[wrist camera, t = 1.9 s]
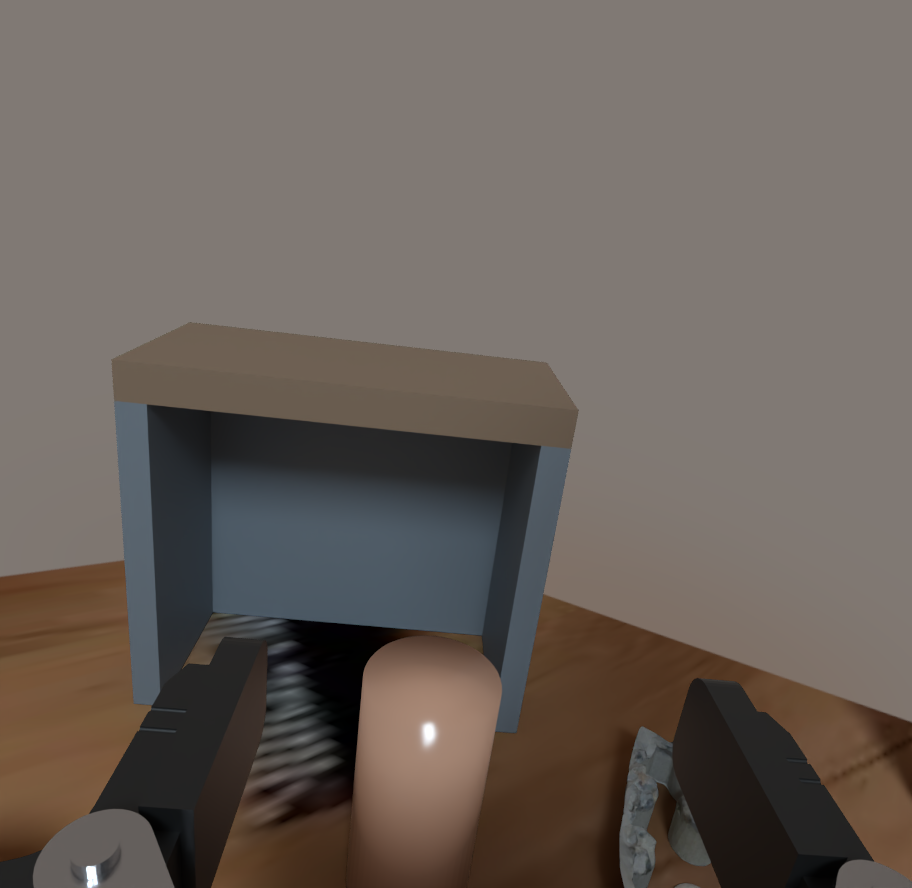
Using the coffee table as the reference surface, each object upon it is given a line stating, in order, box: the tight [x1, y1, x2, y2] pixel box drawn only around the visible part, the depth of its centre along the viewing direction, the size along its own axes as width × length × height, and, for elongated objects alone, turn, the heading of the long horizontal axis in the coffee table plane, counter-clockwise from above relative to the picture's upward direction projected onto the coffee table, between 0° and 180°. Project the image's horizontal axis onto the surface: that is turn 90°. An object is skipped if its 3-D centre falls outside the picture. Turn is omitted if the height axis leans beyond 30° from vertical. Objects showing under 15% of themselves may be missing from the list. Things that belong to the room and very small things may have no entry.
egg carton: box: [619, 726, 711, 888], centre depth 31 cm, size 11×8×4 cm
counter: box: [112, 322, 578, 733], centre depth 39 cm, size 22×10×20 cm, turn 91°
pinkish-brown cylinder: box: [346, 636, 502, 888], centre depth 28 cm, size 6×6×11 cm
